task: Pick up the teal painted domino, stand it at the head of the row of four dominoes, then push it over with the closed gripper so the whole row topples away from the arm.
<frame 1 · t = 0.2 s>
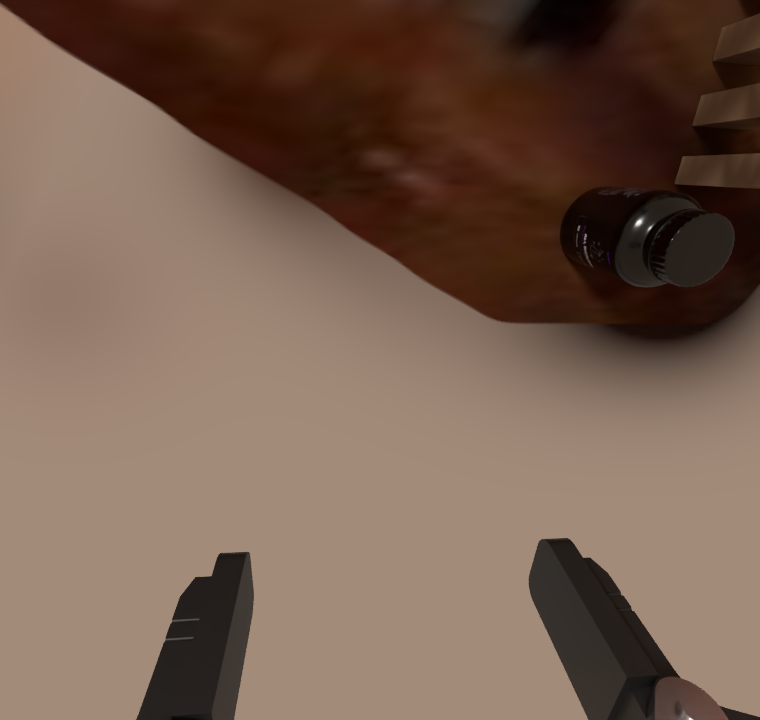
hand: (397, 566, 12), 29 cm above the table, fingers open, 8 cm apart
domino 5: (704, 172, 37), on the table
supplement bottle: (592, 227, 38), on the table
domino 3: (745, 47, 33), on the table
domino 4: (723, 112, 35), on the table
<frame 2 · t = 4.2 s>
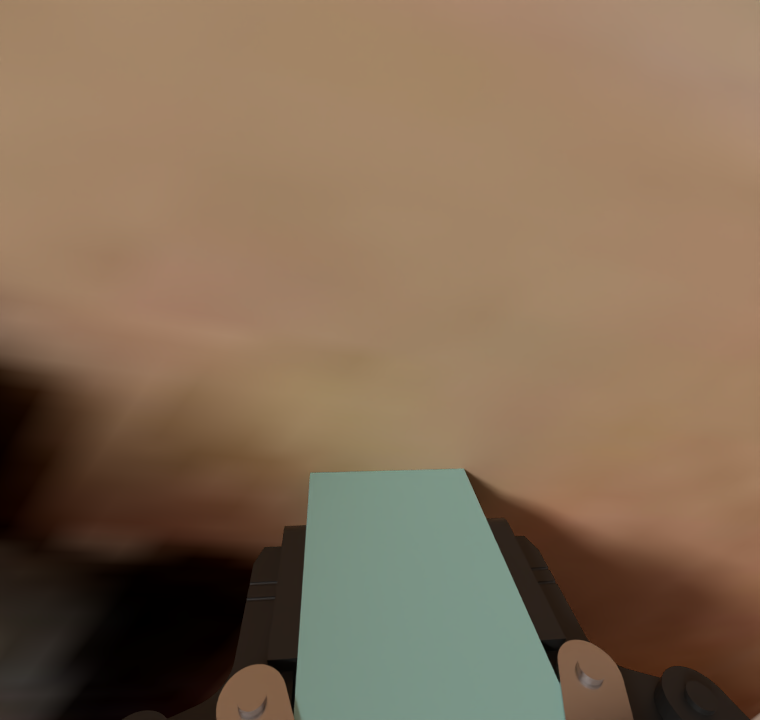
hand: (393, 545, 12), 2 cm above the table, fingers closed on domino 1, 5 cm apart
domino 1: (386, 497, 14), on the table, touching gripper
when the fingers open (2 cm above the table, at t = 8.8 s): domino 1 stays where it is, on the table.
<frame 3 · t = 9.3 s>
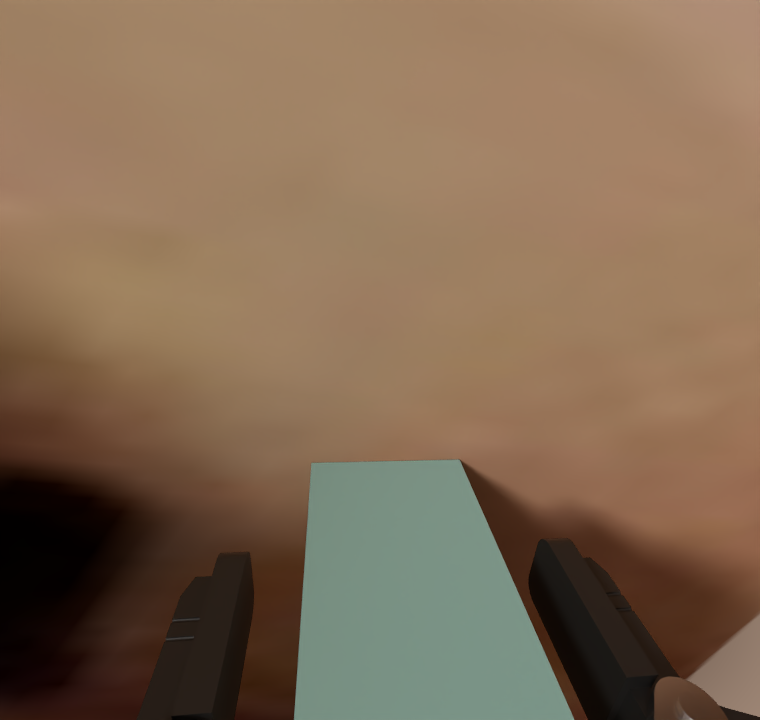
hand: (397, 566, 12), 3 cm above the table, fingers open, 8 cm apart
domino 1: (385, 487, 15), on the table
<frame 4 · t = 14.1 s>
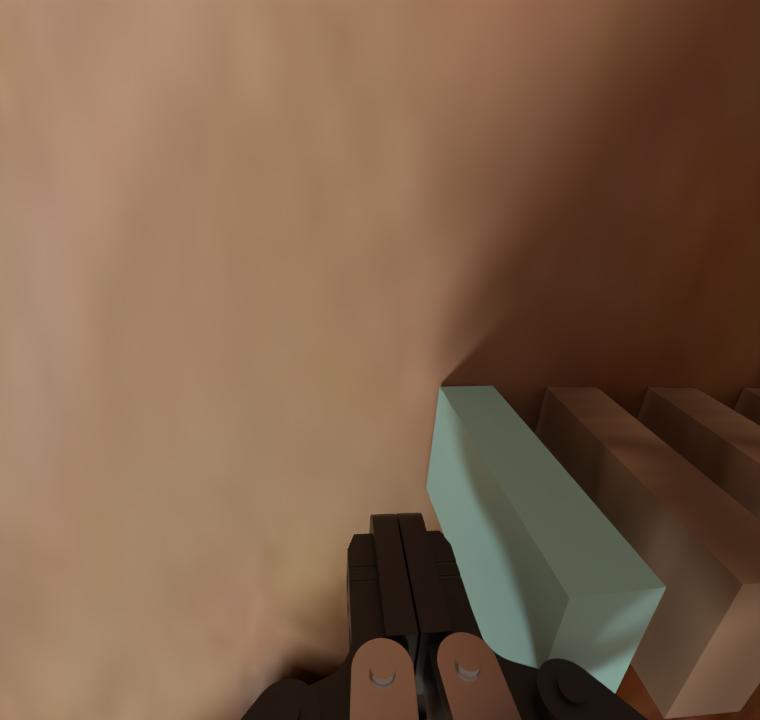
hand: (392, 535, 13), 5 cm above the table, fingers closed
domino 3: (652, 437, 19), on the table
domino 4: (742, 436, 19), on the table
domino 1: (457, 439, 18), on the table
domino 2: (557, 438, 18), on the table
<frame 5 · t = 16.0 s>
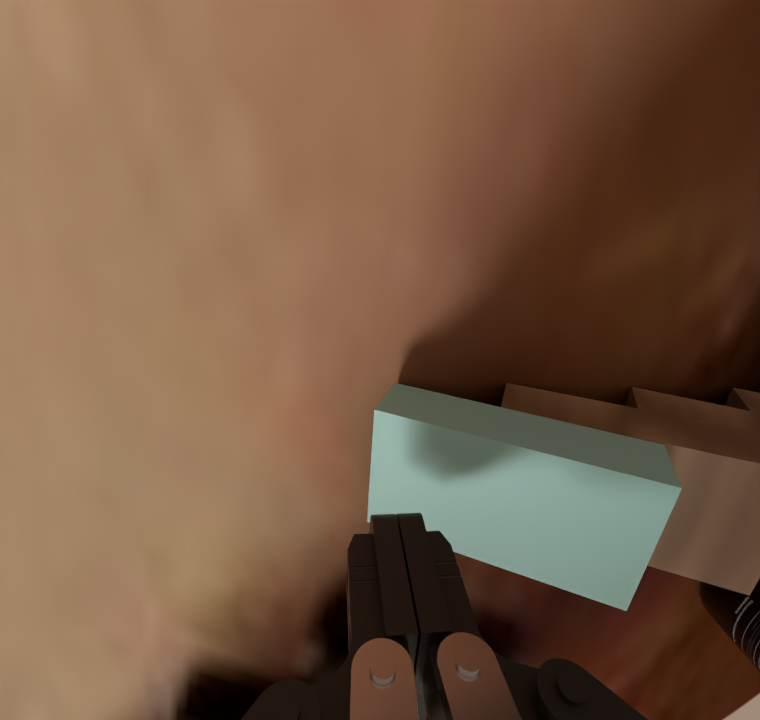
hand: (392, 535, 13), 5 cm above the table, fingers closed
supplement bottle: (750, 564, 24), on the table
domino 3: (616, 450, 18), point 1 cm above the table, tilted 61°, touching domino 2, domino 4
domino 4: (716, 449, 18), point 1 cm above the table, tilted 61°, touching domino 3
domino 1: (381, 452, 16), point 1 cm above the table, tilted 63°, touching domino 2
domino 2: (493, 449, 17), point 1 cm above the table, tilted 63°, touching domino 1, domino 3
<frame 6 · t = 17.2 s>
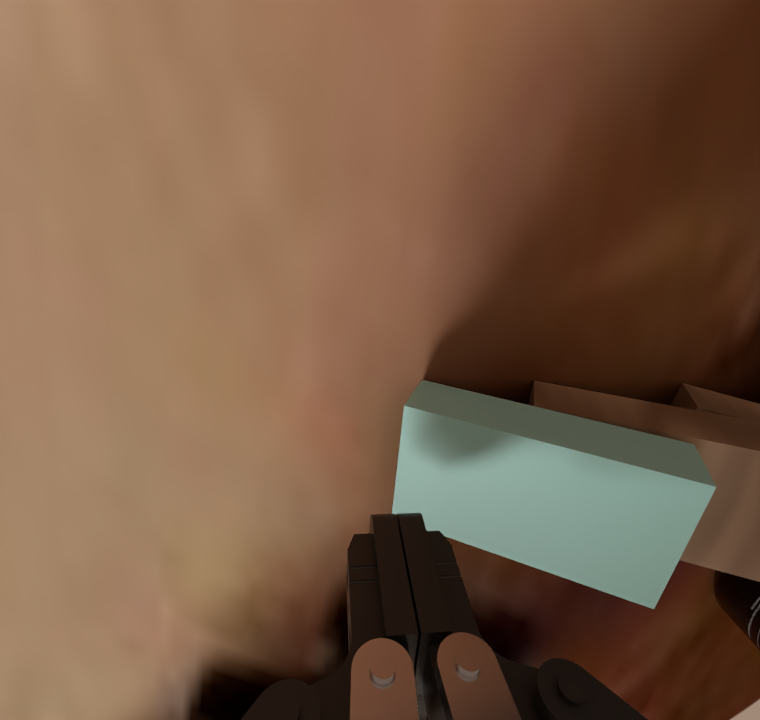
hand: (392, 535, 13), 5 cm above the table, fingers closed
domino 3: (661, 445, 17), point 1 cm above the table, tilted 63°, touching domino 2, domino 4
domino 1: (406, 449, 16), point 1 cm above the table, tilted 63°, touching domino 2
domino 2: (521, 447, 17), point 1 cm above the table, tilted 66°, touching domino 1, domino 3
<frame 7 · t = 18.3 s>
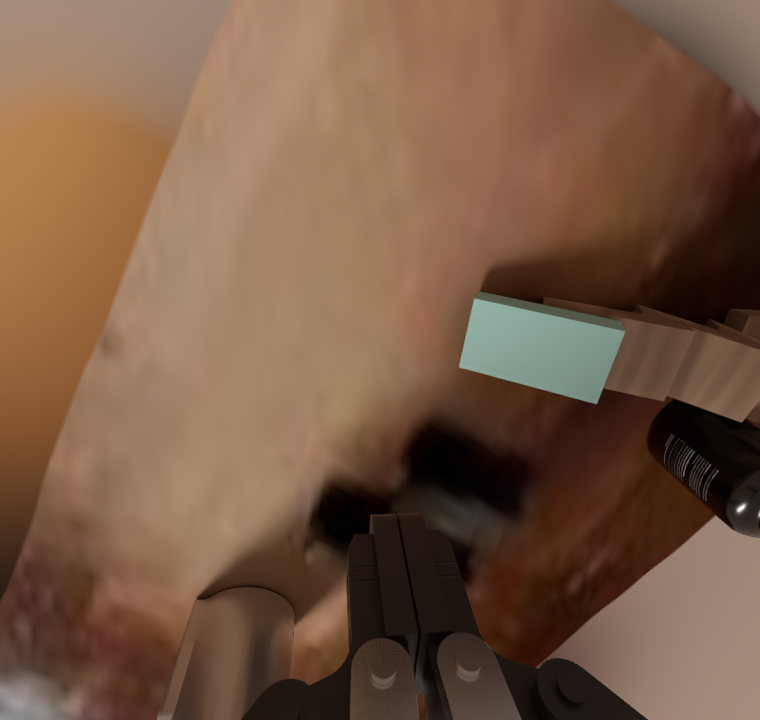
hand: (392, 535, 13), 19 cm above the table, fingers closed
domino 5: (722, 342, 32), point 1 cm above the table, tilted 90°, touching domino 4
supplement bottle: (680, 427, 37), on the table
domino 3: (622, 339, 31), point 1 cm above the table, tilted 65°, touching domino 2
domino 4: (691, 351, 31), point 1 cm above the table, tilted 65°, touching domino 5
domino 1: (469, 329, 29), point 1 cm above the table, tilted 63°, touching domino 2
domino 2: (534, 333, 30), point 1 cm above the table, tilted 68°, touching domino 1, domino 3
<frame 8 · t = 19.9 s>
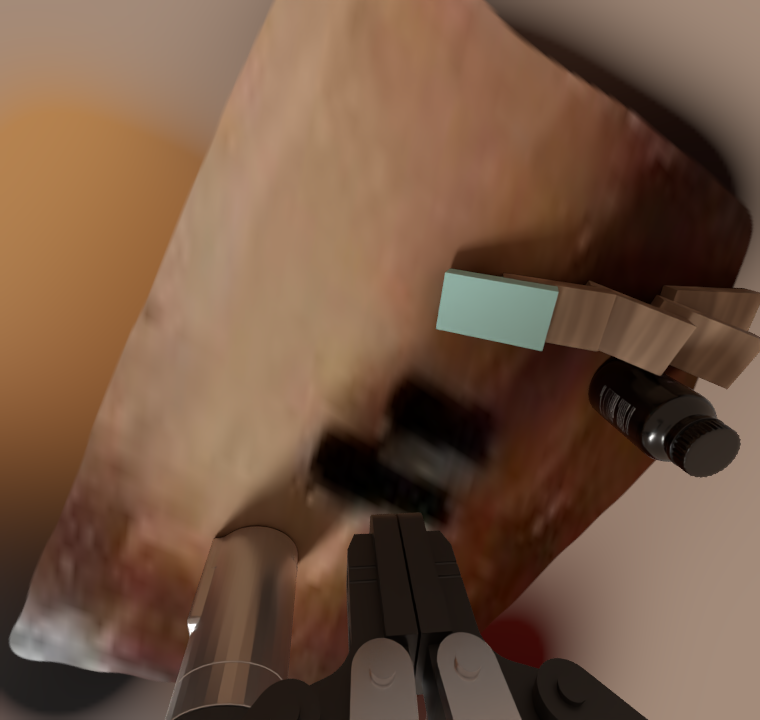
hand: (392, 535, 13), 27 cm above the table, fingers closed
domino 5: (659, 312, 40), point 1 cm above the table, tilted 90°
supplement bottle: (616, 383, 44), on the table
domino 3: (575, 307, 39), point 1 cm above the table, tilted 65°, touching domino 4
domino 4: (643, 321, 39), point 2 cm above the table, tilted 68°, touching domino 3
domino 1: (443, 298, 37), point 1 cm above the table, tilted 64°, touching domino 2
domino 2: (497, 302, 38), point 1 cm above the table, tilted 70°, touching domino 1
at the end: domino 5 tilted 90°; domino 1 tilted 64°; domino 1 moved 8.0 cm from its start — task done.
